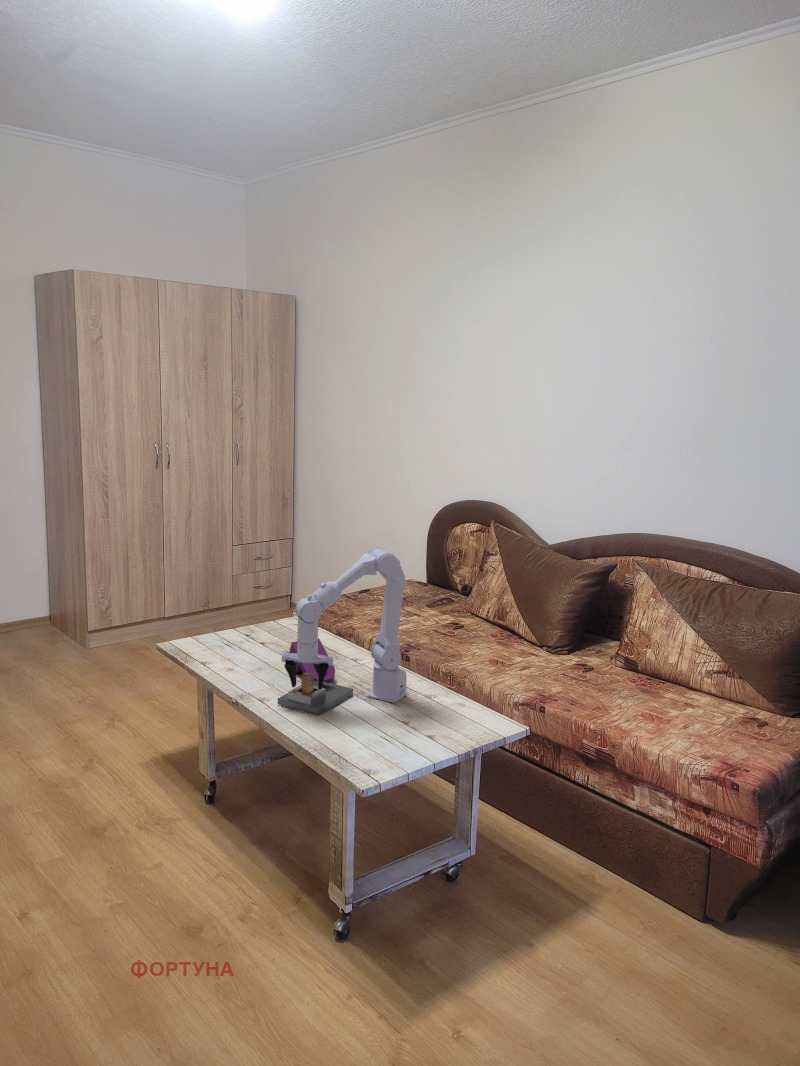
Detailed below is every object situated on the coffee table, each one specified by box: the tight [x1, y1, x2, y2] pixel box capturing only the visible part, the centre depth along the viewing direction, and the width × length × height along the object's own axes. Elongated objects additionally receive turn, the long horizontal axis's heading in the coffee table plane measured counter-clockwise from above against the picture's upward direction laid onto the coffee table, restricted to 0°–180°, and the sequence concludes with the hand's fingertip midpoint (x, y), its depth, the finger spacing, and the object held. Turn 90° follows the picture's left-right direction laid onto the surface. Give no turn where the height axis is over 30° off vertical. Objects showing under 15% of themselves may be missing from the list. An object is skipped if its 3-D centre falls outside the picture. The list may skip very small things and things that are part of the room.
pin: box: [301, 673, 314, 695], centre depth 228 cm, size 3×3×9 cm
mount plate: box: [277, 680, 354, 716], centre depth 232 cm, size 14×18×4 cm
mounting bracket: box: [288, 637, 336, 683], centre depth 252 cm, size 9×8×18 cm
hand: (307, 687), depth 228 cm, fingers open, 7 cm apart
